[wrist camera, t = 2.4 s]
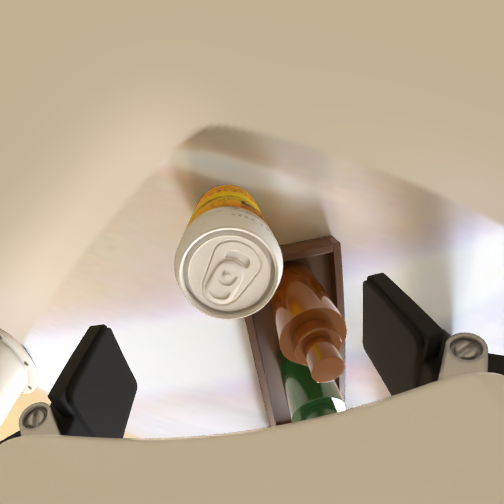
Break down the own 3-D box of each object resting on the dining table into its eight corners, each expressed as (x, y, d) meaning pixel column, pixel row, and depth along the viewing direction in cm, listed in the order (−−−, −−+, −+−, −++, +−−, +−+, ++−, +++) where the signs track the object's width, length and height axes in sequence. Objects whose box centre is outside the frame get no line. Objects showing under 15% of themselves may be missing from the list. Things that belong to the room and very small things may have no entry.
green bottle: (279, 376, 37) (301, 466, 24) (273, 343, 35) (297, 437, 22) (321, 367, 37) (356, 451, 24) (319, 333, 35) (360, 420, 22)
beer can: (269, 202, 30) (308, 253, 16) (239, 254, 32) (251, 340, 18) (214, 172, 29) (202, 197, 15) (185, 227, 30) (153, 297, 16)
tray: (272, 431, 42) (274, 444, 39) (232, 254, 32) (232, 264, 29) (338, 416, 42) (343, 428, 39) (331, 235, 32) (340, 242, 29)
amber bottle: (268, 311, 33) (292, 405, 20) (260, 266, 32) (284, 349, 18) (316, 301, 34) (363, 386, 20) (312, 255, 32) (366, 328, 19)
